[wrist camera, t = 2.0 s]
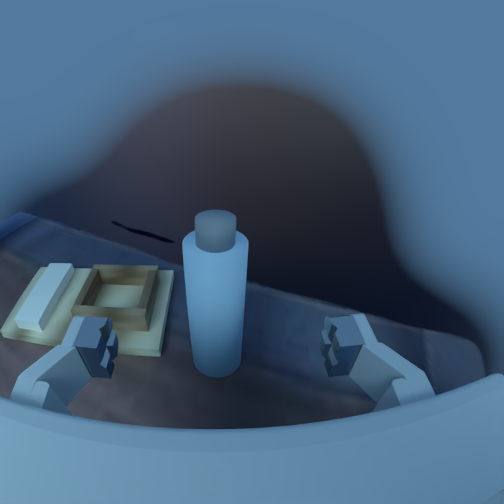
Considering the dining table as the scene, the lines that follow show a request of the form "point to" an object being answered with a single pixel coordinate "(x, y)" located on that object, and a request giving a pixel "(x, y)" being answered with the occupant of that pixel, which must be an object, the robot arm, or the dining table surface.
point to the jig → (107, 306)
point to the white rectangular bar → (44, 297)
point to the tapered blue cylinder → (215, 291)
